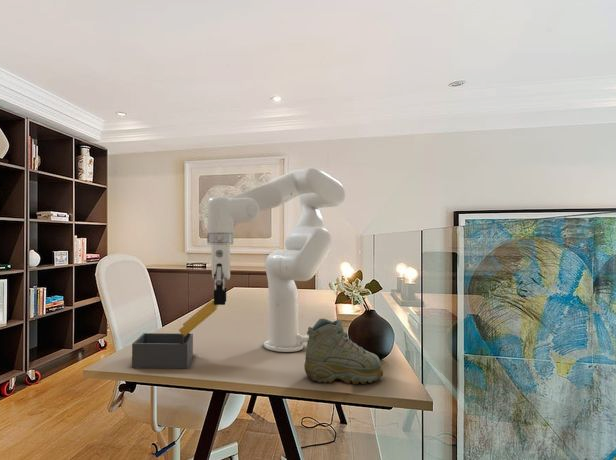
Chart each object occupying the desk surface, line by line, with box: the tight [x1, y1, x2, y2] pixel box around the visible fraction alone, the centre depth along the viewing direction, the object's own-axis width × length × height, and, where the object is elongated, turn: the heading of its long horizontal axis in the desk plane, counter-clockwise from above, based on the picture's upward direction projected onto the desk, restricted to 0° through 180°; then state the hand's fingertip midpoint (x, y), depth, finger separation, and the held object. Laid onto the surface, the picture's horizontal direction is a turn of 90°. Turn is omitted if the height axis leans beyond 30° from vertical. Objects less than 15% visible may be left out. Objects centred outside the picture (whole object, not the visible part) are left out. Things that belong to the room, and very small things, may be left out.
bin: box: [131, 332, 194, 369], centre depth 111 cm, size 15×12×9 cm
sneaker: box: [304, 318, 384, 385], centre depth 97 cm, size 11×19×15 cm, turn 78°
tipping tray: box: [178, 292, 227, 337], centre depth 110 cm, size 16×8×3 cm
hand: (220, 302), depth 110 cm, fingers closed on tipping tray, 4 cm apart
